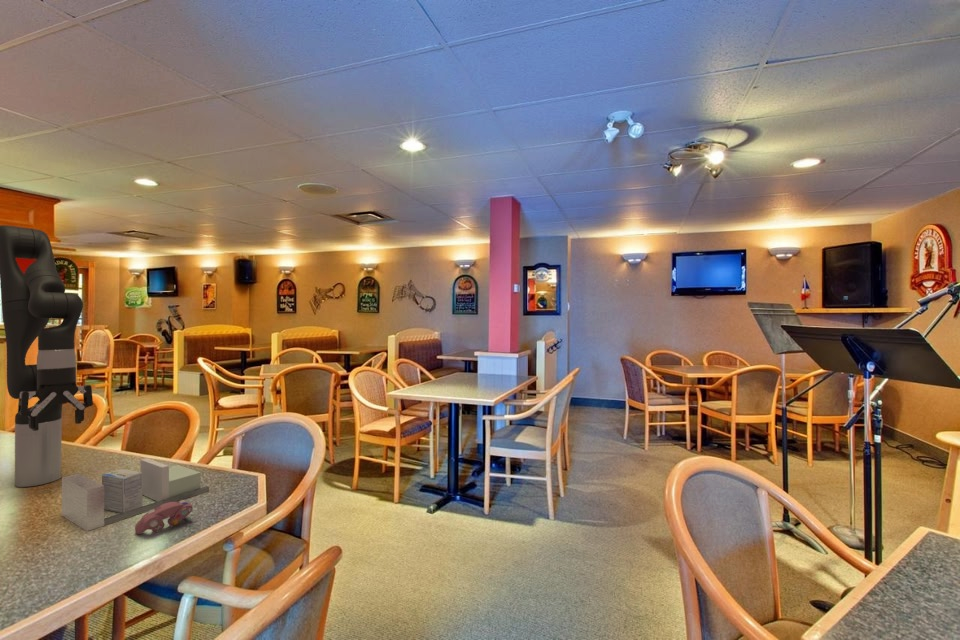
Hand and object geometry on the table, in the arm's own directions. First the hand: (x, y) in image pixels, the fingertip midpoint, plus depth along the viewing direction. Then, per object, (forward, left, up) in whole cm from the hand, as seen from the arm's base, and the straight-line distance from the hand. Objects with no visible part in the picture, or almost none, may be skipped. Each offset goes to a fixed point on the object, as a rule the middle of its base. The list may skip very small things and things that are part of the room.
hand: (57, 426), depth 115 cm
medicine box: (+28, +4, -18) cm, 33 cm away
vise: (+28, +8, -17) cm, 34 cm away
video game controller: (+48, +5, -18) cm, 51 cm away
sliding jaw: (+28, +15, -17) cm, 36 cm away
